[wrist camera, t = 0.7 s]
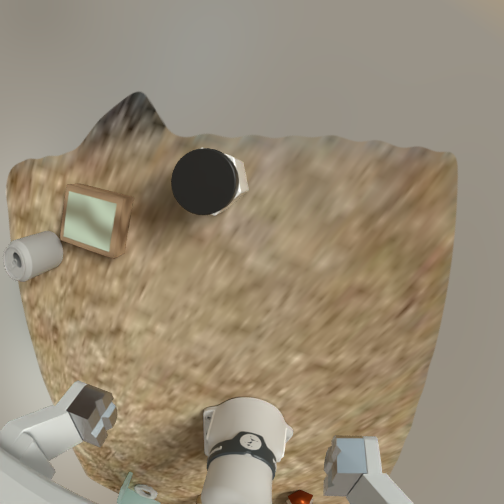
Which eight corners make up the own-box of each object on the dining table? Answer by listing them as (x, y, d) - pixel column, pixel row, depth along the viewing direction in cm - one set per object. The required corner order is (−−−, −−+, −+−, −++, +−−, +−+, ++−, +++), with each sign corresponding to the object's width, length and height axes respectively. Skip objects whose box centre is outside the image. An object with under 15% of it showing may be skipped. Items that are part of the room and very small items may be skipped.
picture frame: (124, 253, 53) (112, 259, 49) (72, 235, 54) (58, 240, 50) (134, 197, 51) (122, 199, 47) (79, 183, 51) (65, 184, 47)
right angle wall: (161, 502, 72) (154, 519, 64) (125, 486, 72) (116, 502, 64) (169, 487, 69) (162, 506, 61) (130, 470, 69) (120, 488, 62)
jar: (257, 165, 48) (249, 160, 36) (240, 214, 50) (227, 225, 38) (203, 147, 48) (179, 139, 37) (187, 196, 50) (159, 202, 38)
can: (71, 256, 55) (32, 273, 43) (50, 272, 56) (12, 291, 44) (54, 223, 54) (13, 233, 42) (34, 241, 55) (-5, 254, 43)
